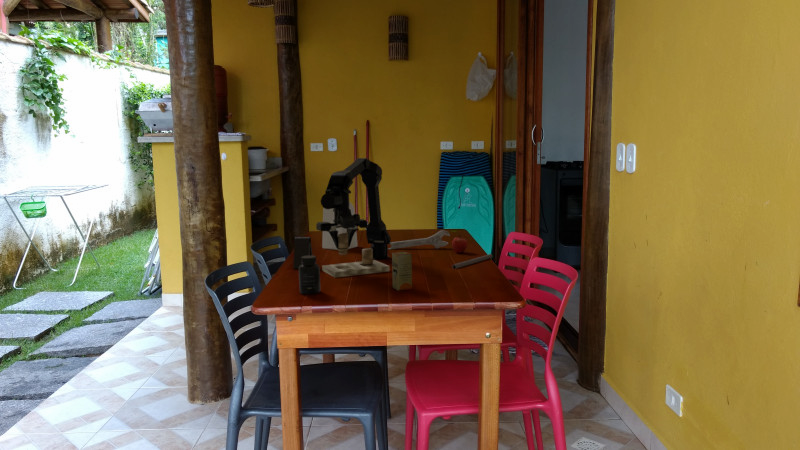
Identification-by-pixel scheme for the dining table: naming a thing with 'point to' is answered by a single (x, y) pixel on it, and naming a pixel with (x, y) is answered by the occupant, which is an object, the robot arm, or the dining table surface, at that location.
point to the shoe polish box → (402, 270)
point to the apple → (459, 244)
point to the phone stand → (301, 250)
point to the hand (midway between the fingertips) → (342, 247)
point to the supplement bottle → (309, 276)
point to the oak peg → (342, 243)
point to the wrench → (422, 241)
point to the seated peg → (367, 257)
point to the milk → (326, 238)
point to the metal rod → (471, 261)
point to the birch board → (354, 269)
